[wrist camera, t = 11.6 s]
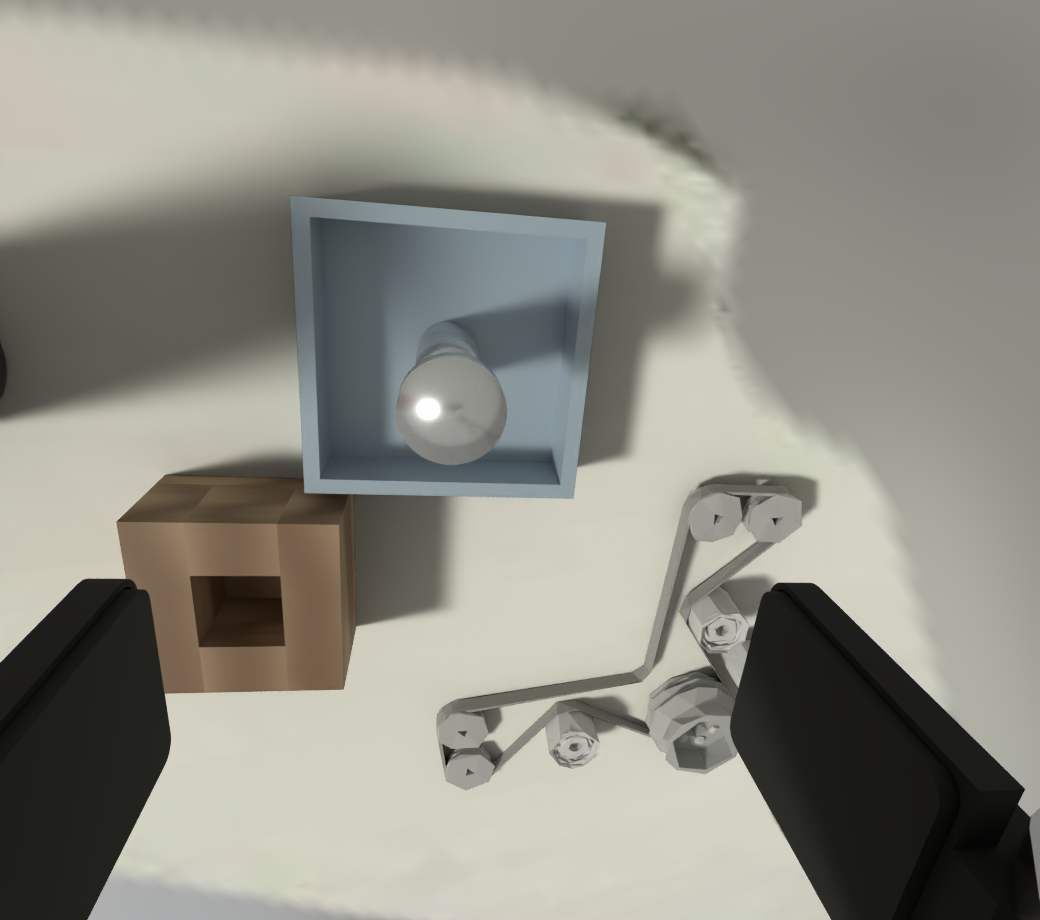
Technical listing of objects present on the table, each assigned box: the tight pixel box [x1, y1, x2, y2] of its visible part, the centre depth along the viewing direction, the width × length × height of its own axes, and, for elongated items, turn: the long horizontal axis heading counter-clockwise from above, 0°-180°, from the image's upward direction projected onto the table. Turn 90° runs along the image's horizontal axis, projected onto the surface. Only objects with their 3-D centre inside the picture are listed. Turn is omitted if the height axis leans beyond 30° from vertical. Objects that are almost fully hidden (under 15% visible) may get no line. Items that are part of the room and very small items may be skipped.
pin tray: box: [290, 196, 606, 499], centre depth 28 cm, size 12×12×4 cm
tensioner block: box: [117, 475, 356, 693], centre depth 31 cm, size 9×9×5 cm
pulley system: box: [437, 484, 802, 790], centre depth 38 cm, size 27×5×15 cm
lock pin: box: [396, 321, 507, 465], centre depth 25 cm, size 4×4×10 cm
